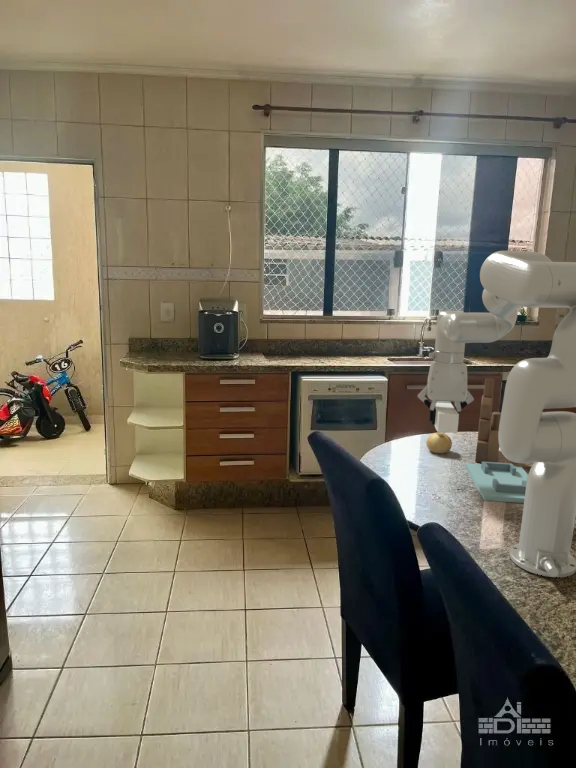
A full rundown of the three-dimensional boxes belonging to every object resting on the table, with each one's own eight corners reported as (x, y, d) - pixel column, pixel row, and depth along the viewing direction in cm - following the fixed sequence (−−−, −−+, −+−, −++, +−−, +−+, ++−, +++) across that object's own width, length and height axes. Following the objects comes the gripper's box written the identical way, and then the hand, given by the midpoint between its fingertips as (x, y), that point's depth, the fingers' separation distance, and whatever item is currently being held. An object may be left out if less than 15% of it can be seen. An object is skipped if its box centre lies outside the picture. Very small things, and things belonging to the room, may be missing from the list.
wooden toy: (498, 465, 171) (507, 384, 166) (475, 462, 173) (483, 382, 168) (498, 450, 185) (506, 375, 180) (476, 447, 188) (484, 373, 182)
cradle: (548, 504, 144) (550, 492, 143) (483, 500, 145) (485, 488, 145) (520, 470, 167) (522, 460, 166) (465, 467, 169) (466, 457, 168)
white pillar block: (457, 433, 146) (459, 413, 145) (437, 431, 147) (438, 412, 146) (448, 418, 160) (449, 401, 159) (430, 418, 160) (431, 400, 159)
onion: (420, 449, 183) (422, 429, 182) (439, 446, 187) (440, 426, 186) (437, 457, 177) (439, 435, 175) (456, 454, 180) (458, 432, 179)
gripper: (417, 358, 147) (412, 426, 150) (485, 361, 145) (478, 429, 149) (414, 354, 154) (410, 418, 158) (478, 357, 152) (472, 422, 156)
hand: (443, 423), depth 153 cm, fingers closed on white pillar block, 5 cm apart
